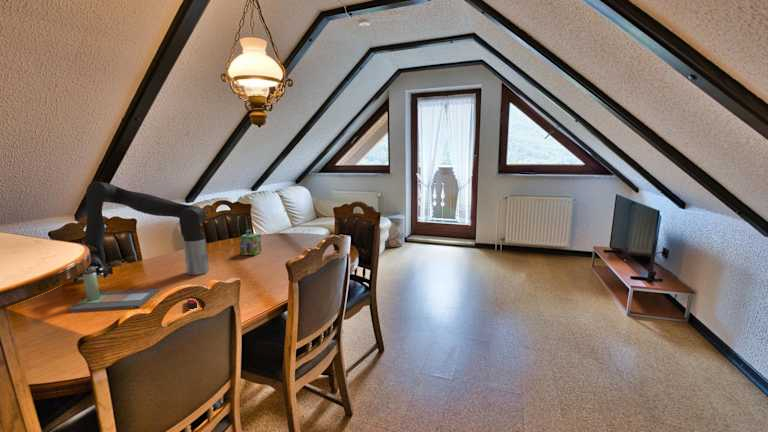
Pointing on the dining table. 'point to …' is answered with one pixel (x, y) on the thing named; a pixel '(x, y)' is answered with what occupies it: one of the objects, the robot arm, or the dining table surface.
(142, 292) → the picture board
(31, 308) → the dining table surface
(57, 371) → the dining table surface
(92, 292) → the green bottle grey cap
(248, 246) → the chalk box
